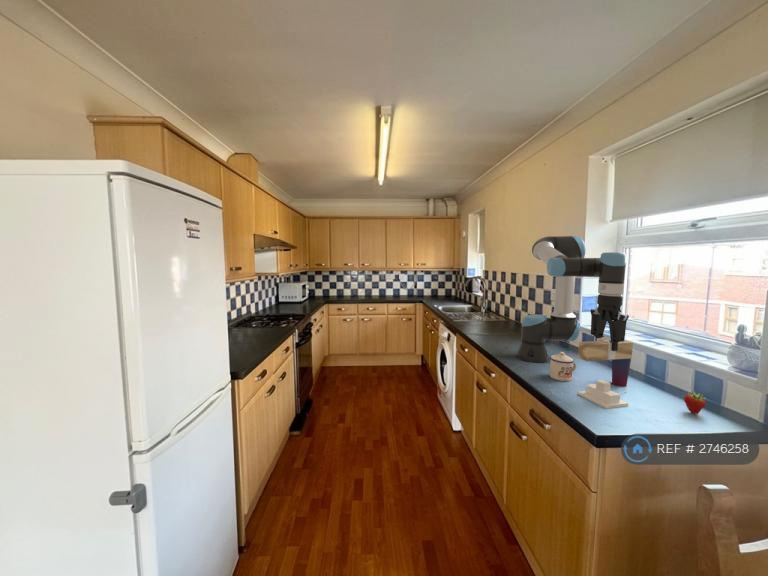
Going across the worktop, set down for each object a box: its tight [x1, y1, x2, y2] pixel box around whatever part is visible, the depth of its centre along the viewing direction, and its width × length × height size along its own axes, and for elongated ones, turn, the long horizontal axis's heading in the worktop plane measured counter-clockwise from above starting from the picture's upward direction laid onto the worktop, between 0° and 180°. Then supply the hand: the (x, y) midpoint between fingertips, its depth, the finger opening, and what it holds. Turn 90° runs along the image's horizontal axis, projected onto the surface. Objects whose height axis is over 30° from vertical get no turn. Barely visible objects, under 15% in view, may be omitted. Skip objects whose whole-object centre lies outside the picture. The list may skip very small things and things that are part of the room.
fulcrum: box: [577, 379, 629, 409], centre depth 117 cm, size 12×10×7 cm
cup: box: [611, 358, 632, 388], centre depth 132 cm, size 7×7×15 cm
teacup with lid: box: [549, 351, 577, 382], centre depth 139 cm, size 12×9×12 cm
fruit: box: [683, 390, 707, 415], centre depth 107 cm, size 5×5×8 cm
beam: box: [577, 339, 634, 362], centre depth 115 cm, size 4×20×6 cm, turn 103°
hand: (605, 356), depth 116 cm, fingers closed on beam, 4 cm apart
